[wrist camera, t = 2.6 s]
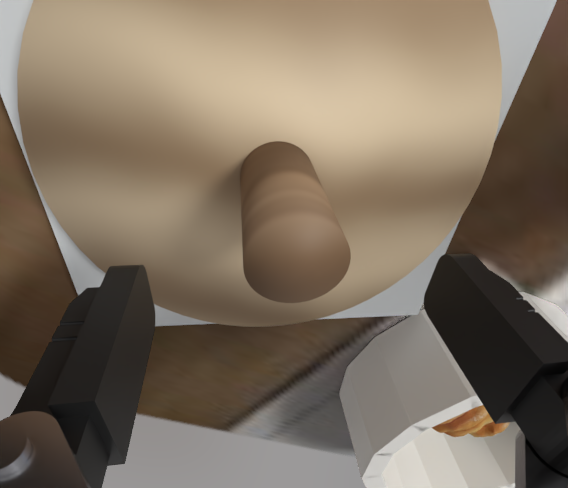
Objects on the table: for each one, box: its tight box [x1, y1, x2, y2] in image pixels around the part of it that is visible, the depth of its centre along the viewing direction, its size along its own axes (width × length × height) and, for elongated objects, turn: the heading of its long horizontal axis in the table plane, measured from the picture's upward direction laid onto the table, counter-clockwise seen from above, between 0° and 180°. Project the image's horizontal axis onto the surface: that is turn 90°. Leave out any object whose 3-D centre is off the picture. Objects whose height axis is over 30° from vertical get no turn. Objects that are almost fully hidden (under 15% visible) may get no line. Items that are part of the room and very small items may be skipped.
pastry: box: [432, 405, 510, 437], centre depth 24 cm, size 9×7×4 cm
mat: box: [0, 0, 557, 326], centre depth 14 cm, size 18×18×1 cm
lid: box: [17, 0, 502, 327], centre depth 11 cm, size 17×17×6 cm
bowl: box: [339, 292, 568, 488], centre depth 23 cm, size 16×16×6 cm
